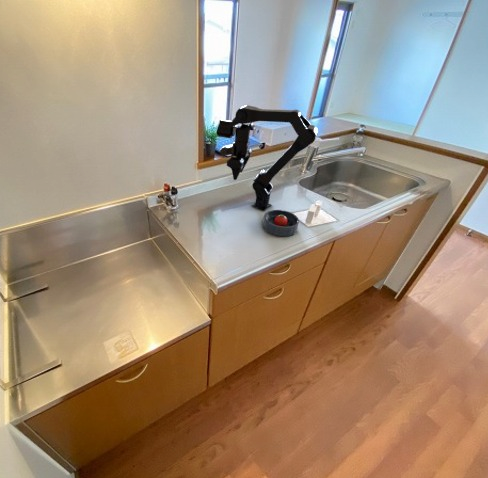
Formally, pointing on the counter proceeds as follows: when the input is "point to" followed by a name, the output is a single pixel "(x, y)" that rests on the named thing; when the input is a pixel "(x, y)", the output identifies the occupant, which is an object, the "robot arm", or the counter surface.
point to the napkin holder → (314, 215)
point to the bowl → (279, 230)
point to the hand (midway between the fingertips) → (237, 175)
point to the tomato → (280, 220)
